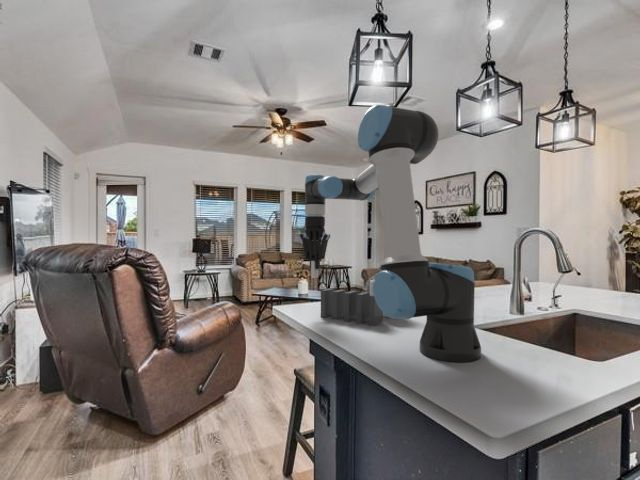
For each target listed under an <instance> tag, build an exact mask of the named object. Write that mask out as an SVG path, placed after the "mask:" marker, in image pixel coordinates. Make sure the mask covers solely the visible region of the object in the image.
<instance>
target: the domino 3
mask: <svg viewBox="0 0 640 480" xmlns="http://www.w3.org/2000/svg"><path fill="white" fill-rule="evenodd" d="M356 294H358V290H351V291H350V290H349V291H346V293H344V318H343V322H348V323H350V322H353V321H356Z"/></svg>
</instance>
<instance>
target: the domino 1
mask: <svg viewBox="0 0 640 480" xmlns="http://www.w3.org/2000/svg"><path fill="white" fill-rule="evenodd" d="M332 291H335V288H330V287H329V288H325V289H321V290H320V318H323V319H326V318H329V317H332Z"/></svg>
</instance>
